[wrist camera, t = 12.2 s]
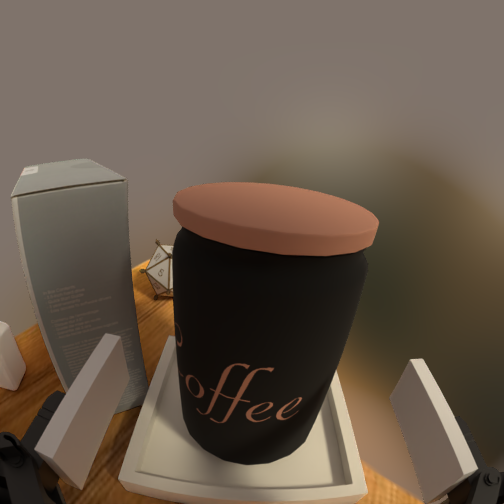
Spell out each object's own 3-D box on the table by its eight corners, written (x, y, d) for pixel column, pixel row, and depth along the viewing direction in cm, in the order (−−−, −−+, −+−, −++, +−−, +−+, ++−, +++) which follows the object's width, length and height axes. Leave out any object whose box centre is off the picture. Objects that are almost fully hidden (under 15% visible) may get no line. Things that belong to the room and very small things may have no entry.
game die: (162, 315, 43) (129, 257, 42) (208, 287, 46) (177, 231, 45) (168, 321, 34) (128, 249, 34) (225, 287, 38) (188, 218, 37)
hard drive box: (52, 331, 29) (24, 165, 22) (105, 317, 34) (91, 157, 27) (81, 428, 19) (9, 189, 11) (155, 402, 23) (133, 173, 16)
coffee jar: (157, 417, 21) (131, 193, 14) (238, 360, 29) (256, 178, 22) (261, 495, 15) (334, 259, 8) (330, 410, 23) (396, 212, 16)
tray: (324, 365, 30) (329, 348, 30) (355, 503, 15) (367, 492, 14) (170, 352, 30) (169, 335, 29) (126, 490, 14) (117, 478, 13)
